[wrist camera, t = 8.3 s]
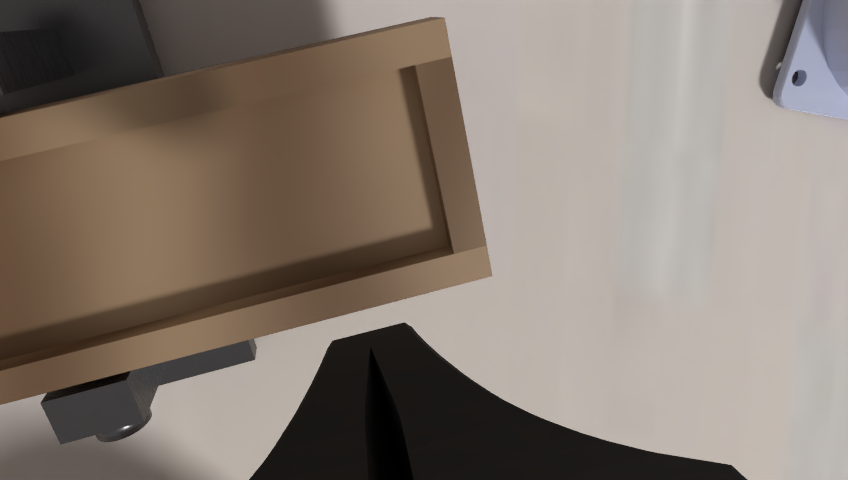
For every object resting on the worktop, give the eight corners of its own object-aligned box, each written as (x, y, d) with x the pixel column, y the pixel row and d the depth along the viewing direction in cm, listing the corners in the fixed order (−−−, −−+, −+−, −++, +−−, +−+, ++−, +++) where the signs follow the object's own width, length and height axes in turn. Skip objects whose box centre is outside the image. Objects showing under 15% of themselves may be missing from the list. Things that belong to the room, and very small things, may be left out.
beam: (417, 16, 17) (456, 18, 13) (460, 229, 19) (506, 296, 15) (-412, 202, 15) (-707, 281, 11) (-265, 414, 17) (-462, 553, 13)
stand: (123, -44, 17) (53, -66, 12) (256, 347, 22) (243, 444, 17) (-115, 5, 17) (-285, 2, 12) (70, 397, 21) (0, 513, 16)
